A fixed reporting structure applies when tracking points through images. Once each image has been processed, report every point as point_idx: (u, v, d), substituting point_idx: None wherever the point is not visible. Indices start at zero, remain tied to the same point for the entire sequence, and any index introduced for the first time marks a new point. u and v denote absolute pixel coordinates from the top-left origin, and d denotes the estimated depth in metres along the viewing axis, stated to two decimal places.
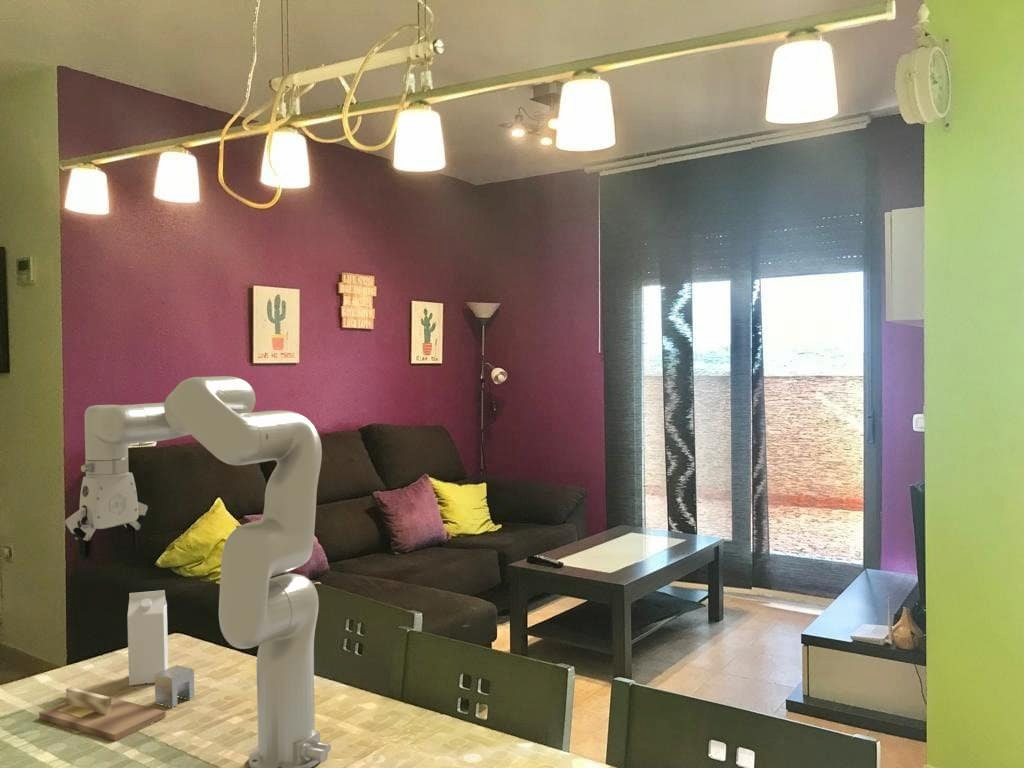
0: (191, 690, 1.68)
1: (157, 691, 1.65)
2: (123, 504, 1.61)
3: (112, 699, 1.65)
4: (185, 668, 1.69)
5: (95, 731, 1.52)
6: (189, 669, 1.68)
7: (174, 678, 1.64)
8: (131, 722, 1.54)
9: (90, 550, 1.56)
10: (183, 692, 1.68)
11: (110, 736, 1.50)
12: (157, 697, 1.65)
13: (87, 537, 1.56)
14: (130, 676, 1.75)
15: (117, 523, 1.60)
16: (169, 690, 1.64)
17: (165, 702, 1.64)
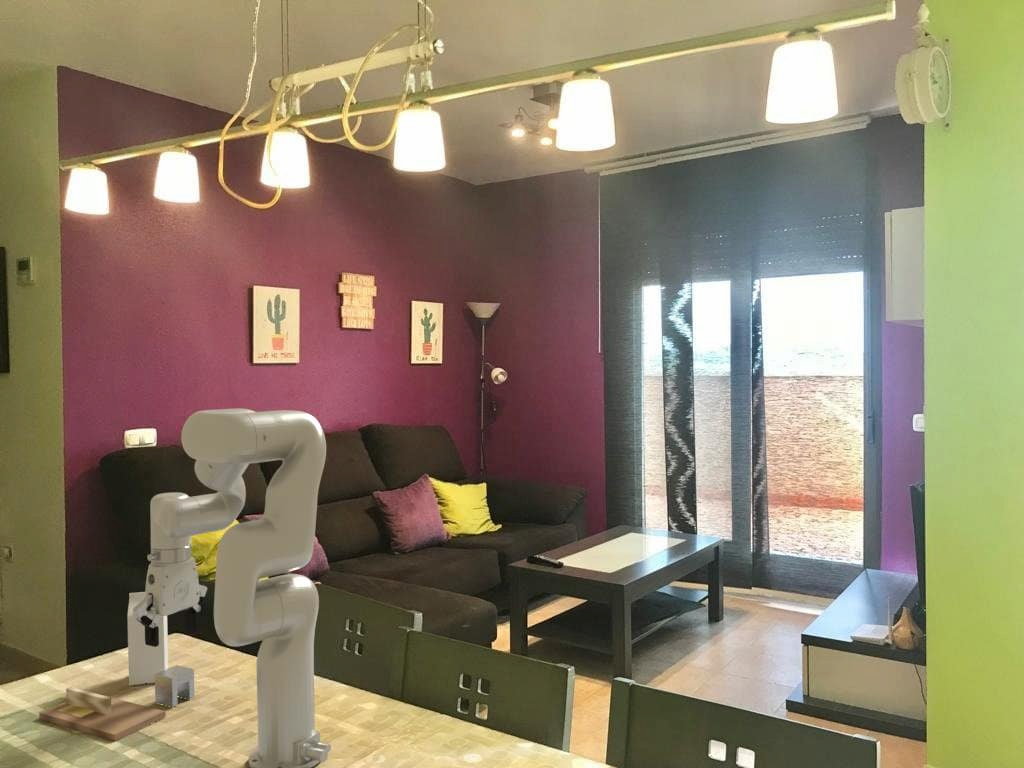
0: (191, 690, 1.68)
1: (157, 691, 1.65)
2: (186, 589, 1.67)
3: (112, 699, 1.65)
4: (185, 668, 1.69)
5: (95, 731, 1.52)
6: (189, 669, 1.68)
7: (174, 678, 1.64)
8: (131, 722, 1.54)
9: (156, 636, 1.62)
10: (183, 692, 1.68)
11: (110, 736, 1.50)
12: (157, 697, 1.65)
13: (153, 624, 1.61)
14: (130, 676, 1.75)
15: (181, 608, 1.65)
16: (169, 690, 1.64)
17: (165, 702, 1.64)
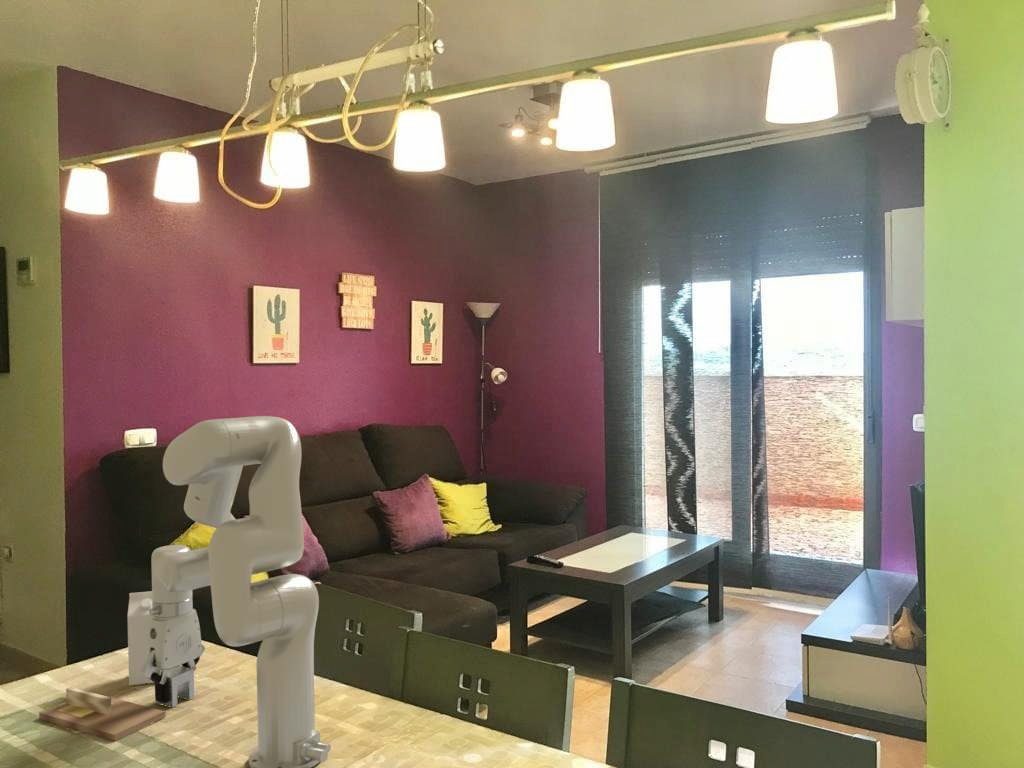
0: (190, 690, 1.68)
1: None
2: (188, 642, 1.67)
3: (112, 699, 1.65)
4: (185, 668, 1.69)
5: (95, 731, 1.52)
6: (189, 669, 1.68)
7: (174, 678, 1.64)
8: (131, 722, 1.54)
9: (166, 693, 1.63)
10: (182, 692, 1.68)
11: (110, 736, 1.50)
12: None
13: (163, 680, 1.63)
14: (130, 676, 1.75)
15: (183, 662, 1.65)
16: (169, 690, 1.64)
17: None
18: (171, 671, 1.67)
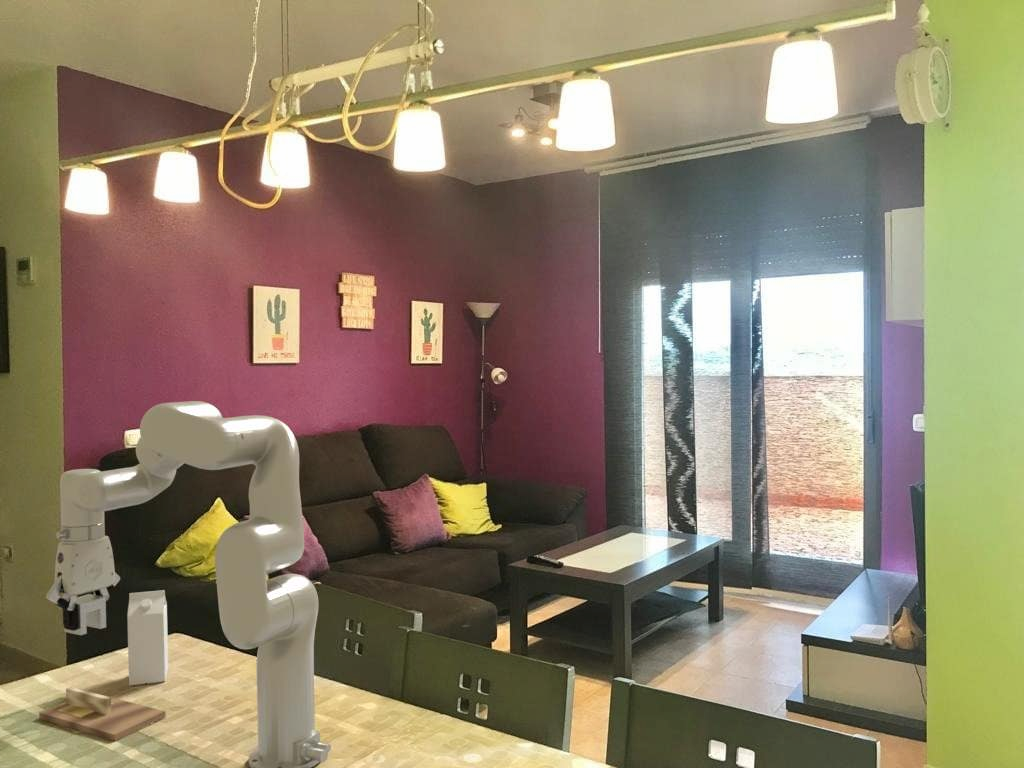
0: (102, 619, 1.62)
1: None
2: (99, 569, 1.61)
3: (112, 699, 1.65)
4: (97, 596, 1.63)
5: (95, 731, 1.52)
6: (101, 597, 1.62)
7: (83, 605, 1.58)
8: (131, 722, 1.54)
9: (74, 620, 1.57)
10: (94, 621, 1.62)
11: (110, 736, 1.50)
12: None
13: (71, 607, 1.57)
14: (130, 676, 1.75)
15: (93, 589, 1.59)
16: (78, 617, 1.58)
17: None
18: (81, 599, 1.61)
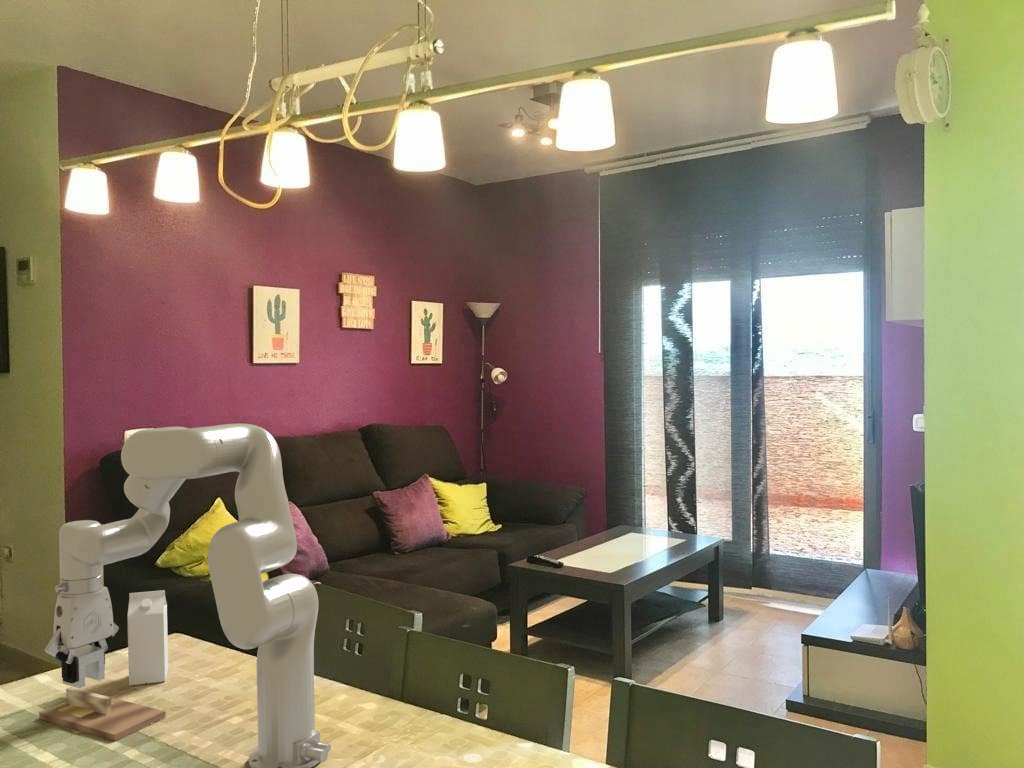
0: (100, 671, 1.62)
1: None
2: (98, 621, 1.61)
3: (112, 699, 1.65)
4: (95, 647, 1.63)
5: (95, 731, 1.52)
6: (99, 648, 1.62)
7: (81, 658, 1.58)
8: (131, 722, 1.54)
9: (73, 673, 1.58)
10: (92, 672, 1.62)
11: (110, 736, 1.50)
12: None
13: (70, 660, 1.57)
14: (130, 676, 1.75)
15: (91, 641, 1.60)
16: (76, 669, 1.58)
17: None
18: (80, 650, 1.61)
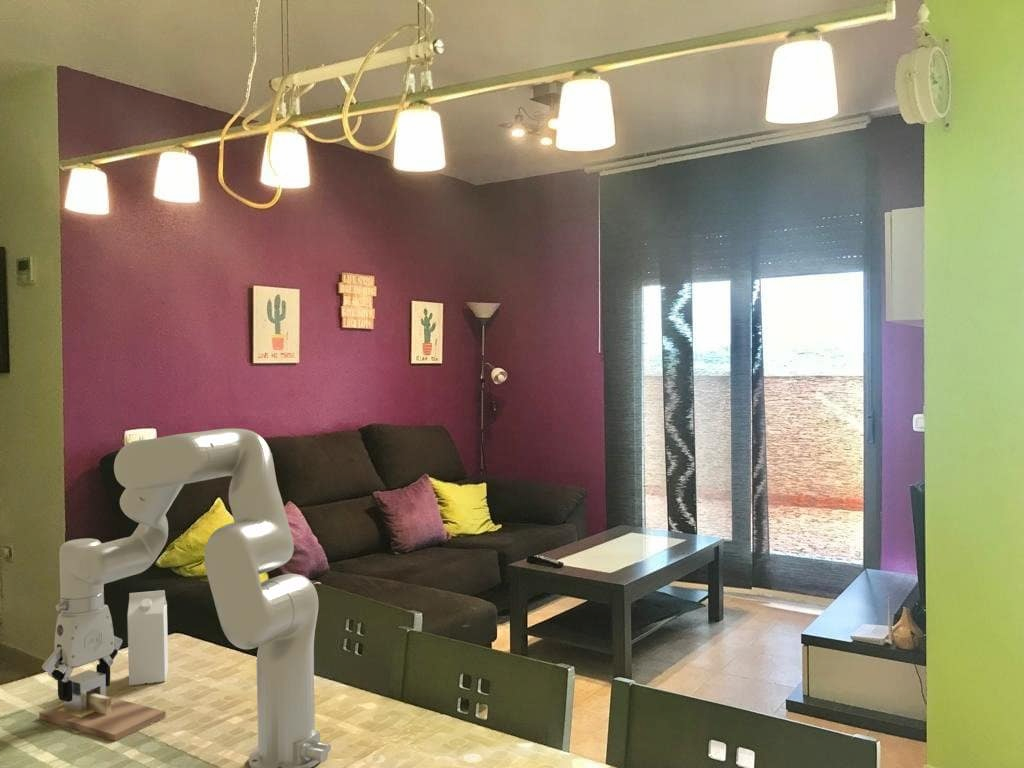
0: None
1: None
2: (98, 639, 1.61)
3: (112, 699, 1.65)
4: (97, 673, 1.63)
5: (95, 731, 1.52)
6: (100, 674, 1.62)
7: (83, 684, 1.58)
8: (131, 722, 1.54)
9: (69, 691, 1.57)
10: None
11: (110, 736, 1.50)
12: (66, 703, 1.60)
13: (66, 678, 1.56)
14: (130, 676, 1.75)
15: (92, 659, 1.60)
16: (78, 696, 1.58)
17: (74, 708, 1.59)
18: (81, 676, 1.61)
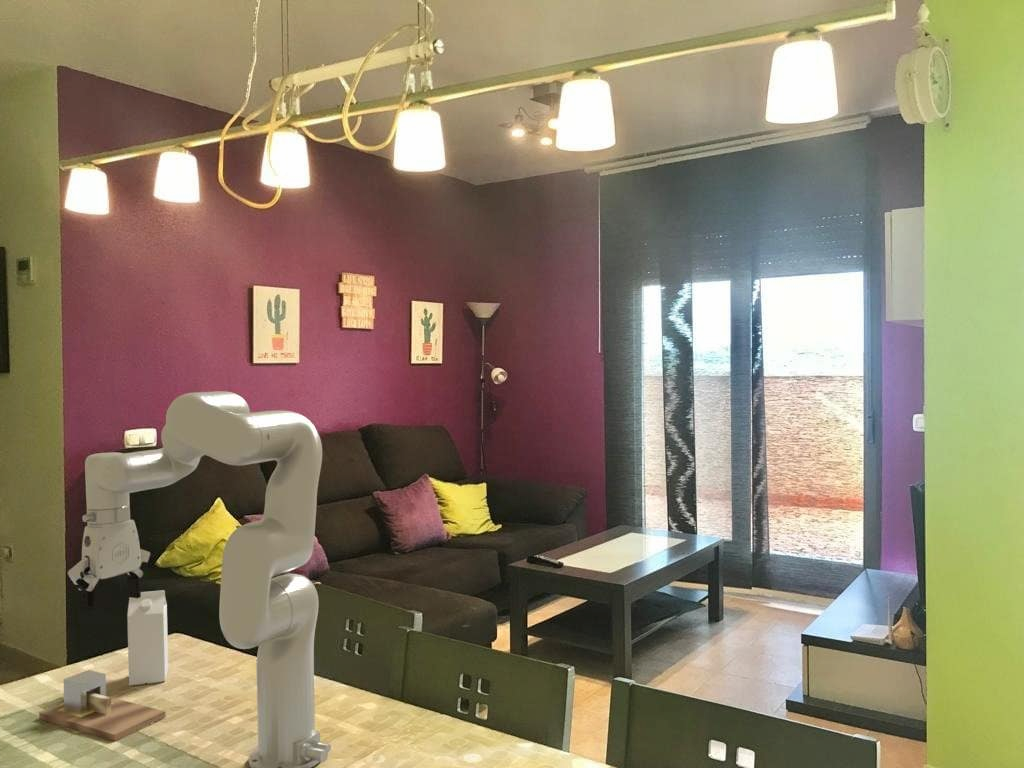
0: None
1: (66, 697, 1.60)
2: (126, 552, 1.60)
3: (112, 699, 1.65)
4: (97, 673, 1.63)
5: (95, 731, 1.52)
6: (100, 674, 1.62)
7: (83, 684, 1.58)
8: (131, 722, 1.54)
9: (93, 601, 1.55)
10: None
11: (110, 736, 1.50)
12: (66, 703, 1.60)
13: (90, 588, 1.55)
14: (130, 676, 1.75)
15: (120, 572, 1.59)
16: (78, 696, 1.58)
17: (74, 708, 1.59)
18: (81, 676, 1.61)
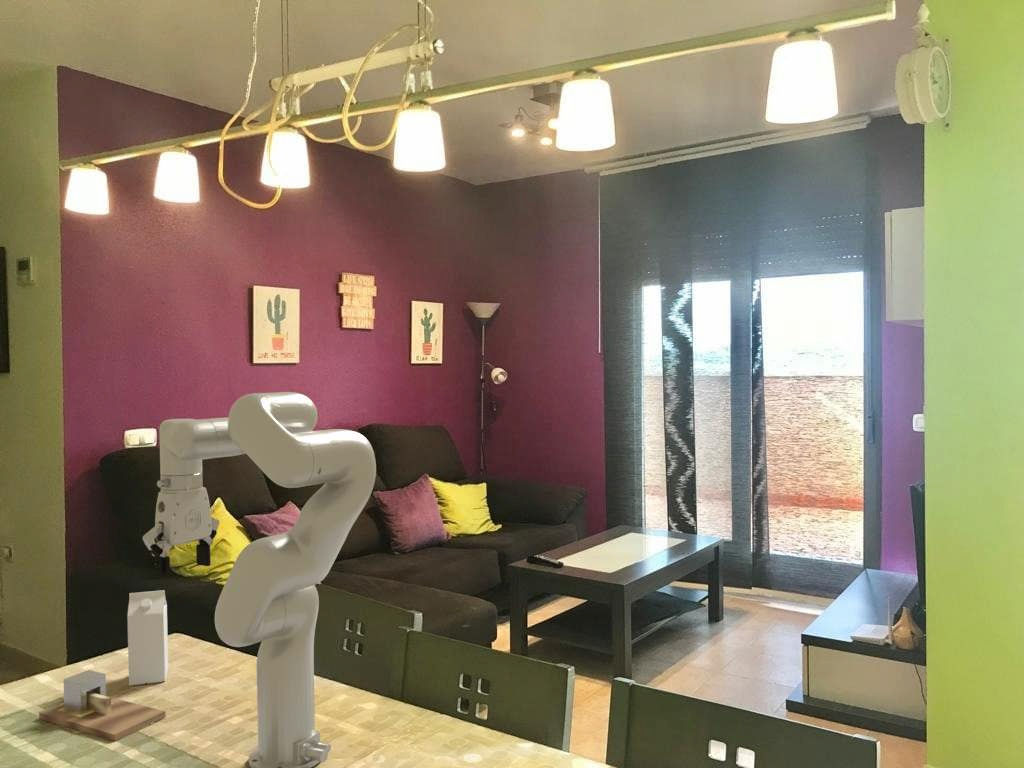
0: None
1: (66, 697, 1.60)
2: (198, 519, 1.59)
3: (112, 699, 1.65)
4: (97, 673, 1.63)
5: (95, 731, 1.52)
6: (100, 674, 1.62)
7: (83, 684, 1.58)
8: (131, 722, 1.54)
9: (167, 567, 1.54)
10: None
11: (110, 736, 1.50)
12: (66, 703, 1.60)
13: (164, 554, 1.54)
14: (130, 676, 1.75)
15: (192, 539, 1.57)
16: (78, 696, 1.58)
17: (74, 708, 1.59)
18: (81, 676, 1.61)
